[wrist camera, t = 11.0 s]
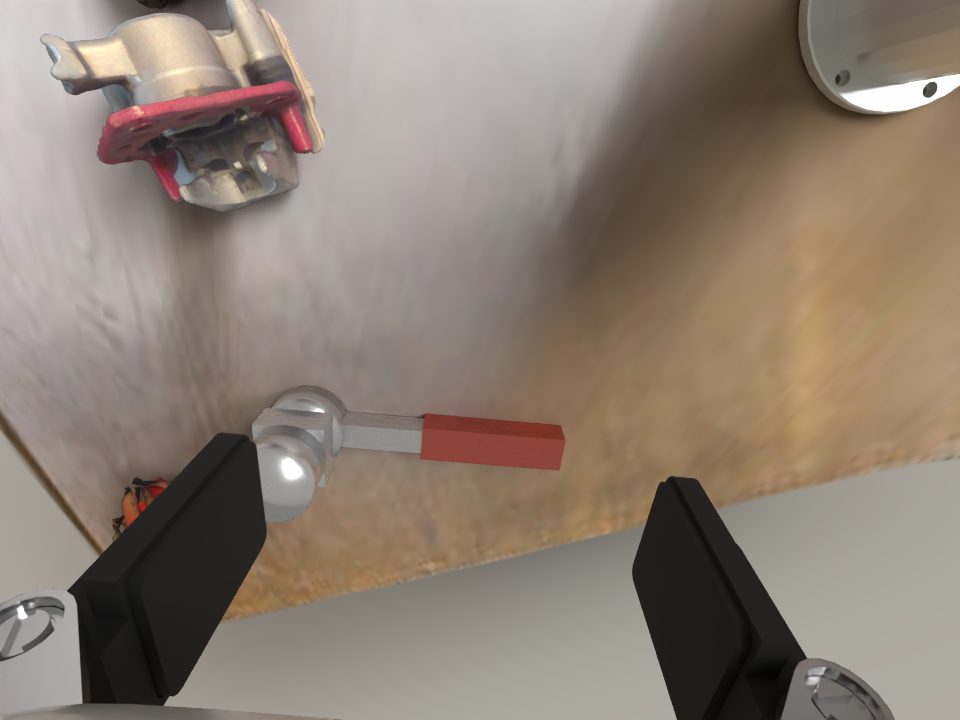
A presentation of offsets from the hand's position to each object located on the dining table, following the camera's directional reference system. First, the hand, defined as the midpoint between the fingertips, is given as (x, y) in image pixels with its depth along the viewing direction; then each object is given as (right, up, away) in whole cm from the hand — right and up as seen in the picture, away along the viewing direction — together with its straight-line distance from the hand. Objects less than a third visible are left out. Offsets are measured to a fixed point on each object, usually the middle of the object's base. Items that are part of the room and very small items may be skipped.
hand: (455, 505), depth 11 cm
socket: (-13, -3, +24) cm, 28 cm away
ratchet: (-4, -2, +28) cm, 28 cm away
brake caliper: (-15, +18, +19) cm, 30 cm away
